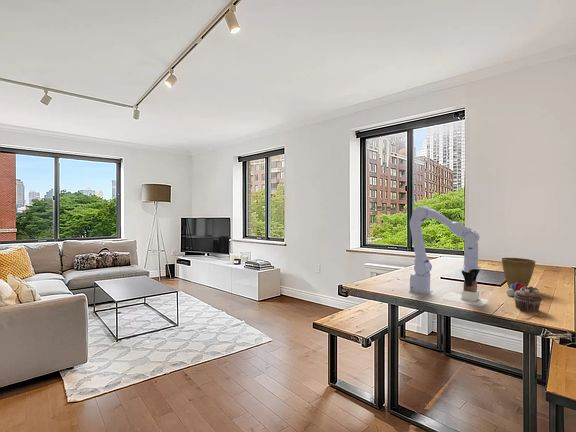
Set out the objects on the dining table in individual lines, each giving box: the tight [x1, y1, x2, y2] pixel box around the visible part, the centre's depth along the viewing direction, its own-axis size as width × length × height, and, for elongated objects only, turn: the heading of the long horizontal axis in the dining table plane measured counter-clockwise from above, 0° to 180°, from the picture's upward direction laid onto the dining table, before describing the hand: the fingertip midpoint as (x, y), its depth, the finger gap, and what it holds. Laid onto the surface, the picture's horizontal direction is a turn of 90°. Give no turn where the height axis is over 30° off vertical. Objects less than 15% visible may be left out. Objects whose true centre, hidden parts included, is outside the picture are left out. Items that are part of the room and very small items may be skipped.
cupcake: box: [513, 286, 543, 313], centre depth 143 cm, size 10×10×10 cm
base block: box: [460, 288, 480, 302], centre depth 157 cm, size 6×6×4 cm
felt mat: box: [439, 292, 490, 307], centre depth 157 cm, size 18×14×1 cm
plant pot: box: [501, 257, 536, 289], centre depth 178 cm, size 15×15×16 cm
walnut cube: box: [463, 280, 478, 292], centre depth 157 cm, size 4×4×4 cm
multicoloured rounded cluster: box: [506, 282, 526, 297], centre depth 162 cm, size 8×10×7 cm
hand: (470, 285), depth 157 cm, fingers open, 5 cm apart
